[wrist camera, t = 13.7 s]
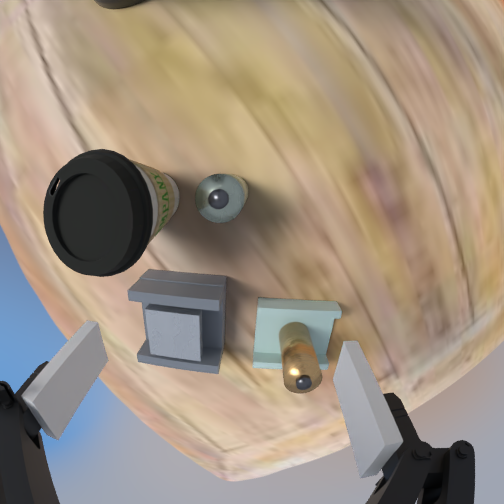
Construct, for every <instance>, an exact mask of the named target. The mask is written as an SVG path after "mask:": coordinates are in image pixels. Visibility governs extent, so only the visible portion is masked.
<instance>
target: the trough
mask: <svg viewBox="0 0 504 504" xmlns="http://www.w3.org/2000/svg"><path fill="white" fill-rule="evenodd" d="M341 314H342V310H341V309H340V307H339V305H338V303H337V302H336V301H316V300H295V299H278V298H262V297H258V306H257V318H256V329H255V341H254V352H253V368H266V369H282V361H281V352H280V344H279V331H280V329H281V328H282V327H283V326H284V325H286V324H288V323H290V322H300V323H303V324H304V325H306V326H307V328H308V330H309V333H310V336H311V340H312V343H313V346H314V350H315V353H316V356H317V360H318V363H319V367H320V370H327V369H328V366H329V362H328V359H327V356H326V352H327V348H328V344H329V340H330V335H331V331H332V327H333V322H334V319H340V318H341Z"/></svg>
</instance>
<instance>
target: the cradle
mask: <svg viewBox="0 0 504 504" xmlns="http://www.w3.org/2000/svg"><path fill="white" fill-rule="evenodd" d="M226 277H227V276H220V275H208V274H196V273H185V272H173V271H163V270H152V269H148V270H147V271H146V272H145V273H144V274H143V275H142V276H141V277H140V279H139V280H138V281H137V282H136V283H135V284H134V285H133V286H132V287H131V288H130V289H129V290H128V298H129V301H136V302H142V308H143V317H144V325H145V333H146V340H145V342H144V344H143V345H142V347H141V348H140V350H139V352H138V353H137V358H138V362H142V363H147V364H152V365H158V366H164V367H170V368H176V369H183V370H190V371H197V372H205V373H214V374H219V369H220V364H221V358H222V354H223V349H224V342H225V305H226ZM149 303H151V304H158V305H166V306H175V307H183V308H193V309H202V340H203V355H202V358H201V361H194V360H187V359H179V358H173V357H166V356H160V355H154V354H151V352H150V346H149V339H148V331H147V323H146V314H145V308H146V307H147V306H148V305H149Z"/></svg>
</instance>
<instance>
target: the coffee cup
mask: <svg viewBox="0 0 504 504" xmlns="http://www.w3.org/2000/svg"><path fill="white" fill-rule="evenodd" d="M59 180H60V182H59ZM58 182H59V185H58V187H57V184H58ZM56 187H57V189H56ZM55 190H56V191H55ZM178 205H179V190H178V187H177V185H176V183H175V182H174V180H173V179H172V178H171V177H169V176H168V175H166V174H164V173H162V172H160V171H159V170H156V169H154V168H152V167H149V166H146V165H143V164H141V163H138V162H135V161H132V160H129V159H127V158H126V157H125V156H123V155H121V154H119V153H117V152H115V151H111V150H105V149H99V150H91V151H88V152H85V153H82V154H80V155H78V156H76V157H75V158H73V159H72V160H70V161H69V162H68V163H67V164H66V165H65V166H63V167H62V168H61V169H60V170H59V171H58V172H57V173H56V175H55V176H54V178H53V179H52V181H51V182H50V185H49V187H48V190H47V193H46V197H45V201H44V211H43V214H44V225H45V230H46V234H47V237H48V240H49V243H50V245H51V246H52V248H53V250H54V252H55V253H56V255H57V256H58V257H59V259H60V260H61V261H62V262H63V263H64V264H65V265H66V266H68V267H69V268H71V269H72V270H74V271H76V272H78V273H81V274H84V275H91V276H92V275H93V276H99V277H104V276H112V275H115V274H118V273H121V272H124V271H125V270H127V269H128V268H130V267H131V266H133V265H134V264H135V263H136V262H137V261H138V260H139V259H140V257H141V256H142V254H143V252H144V251H145V249H146V247H147V245H148V244H149V242H150V241H151V240H152V239H153V238H154V237H155V236H156V235H157V234H158V232H159V231H160V230H161V229H162V228H163V227H164V226H165V225H166V224H167V222H168V221H169V219H170V218H171V217H172V216H173V215H174V213H175V212H176V210H177V208H178Z"/></svg>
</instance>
